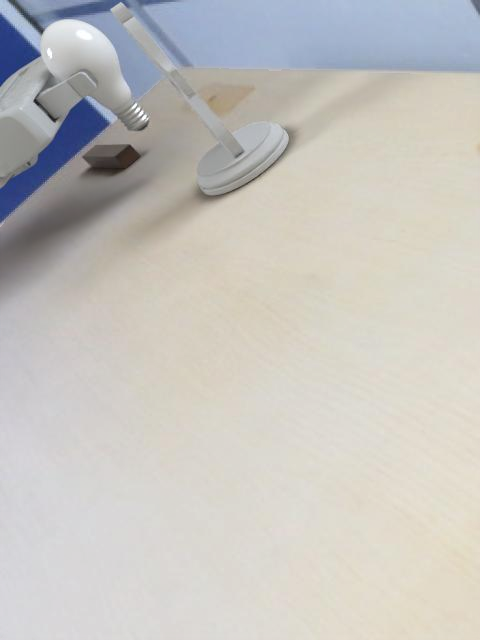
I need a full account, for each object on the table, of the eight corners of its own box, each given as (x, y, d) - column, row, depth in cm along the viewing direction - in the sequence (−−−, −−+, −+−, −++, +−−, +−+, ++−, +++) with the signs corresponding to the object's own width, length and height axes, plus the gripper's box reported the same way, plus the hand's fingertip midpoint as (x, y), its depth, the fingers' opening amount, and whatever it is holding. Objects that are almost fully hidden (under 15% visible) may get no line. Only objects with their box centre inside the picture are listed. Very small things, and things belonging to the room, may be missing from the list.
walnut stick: (141, 155, 88) (129, 143, 87) (125, 168, 87) (114, 156, 86) (106, 155, 94) (96, 144, 93) (92, 167, 93) (81, 156, 92)
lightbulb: (122, 133, 81) (29, 32, 73) (171, 104, 81) (84, -1, 73) (115, 154, 76) (16, 49, 69) (167, 123, 76) (74, 14, 68)
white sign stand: (215, 206, 68) (72, 47, 58) (194, 181, 75) (63, 33, 64) (301, 144, 70) (178, -23, 59) (274, 124, 76) (158, -30, 66)
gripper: (37, 121, 84) (140, 62, 83) (-16, 202, 70) (107, 133, 69) (-16, 68, 80) (92, 4, 79) (-84, 143, 66) (46, 67, 65)
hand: (99, 65), depth 74 cm, fingers closed on lightbulb, 6 cm apart
